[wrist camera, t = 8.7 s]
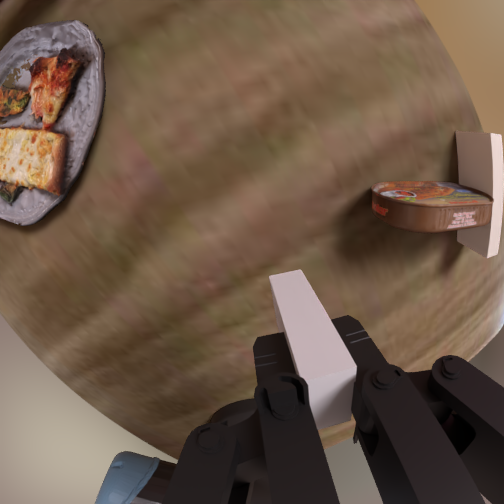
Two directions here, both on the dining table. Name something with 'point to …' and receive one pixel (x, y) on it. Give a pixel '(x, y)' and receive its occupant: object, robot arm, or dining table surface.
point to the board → (482, 185)
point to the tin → (430, 206)
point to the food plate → (47, 116)
